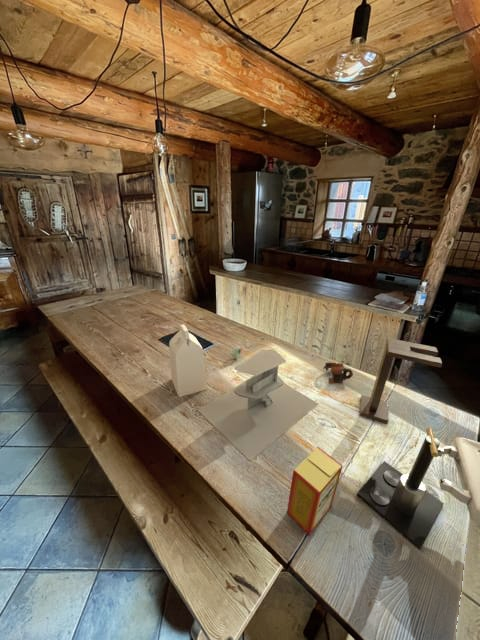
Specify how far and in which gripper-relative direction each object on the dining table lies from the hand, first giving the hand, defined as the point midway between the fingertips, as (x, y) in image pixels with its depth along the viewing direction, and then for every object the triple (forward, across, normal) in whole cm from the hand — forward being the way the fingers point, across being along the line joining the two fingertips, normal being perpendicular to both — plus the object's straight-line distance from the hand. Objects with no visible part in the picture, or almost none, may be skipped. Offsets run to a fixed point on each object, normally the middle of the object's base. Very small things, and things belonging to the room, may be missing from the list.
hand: (436, 465), depth 61 cm
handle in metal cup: (+3, -2, -14) cm, 15 cm away
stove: (+4, 0, -16) cm, 16 cm away
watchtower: (+49, +14, -16) cm, 53 cm away
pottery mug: (+25, +45, -16) cm, 54 cm away
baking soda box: (+24, -13, -16) cm, 32 cm away
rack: (+6, +32, -16) cm, 36 cm away
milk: (+79, +14, -16) cm, 82 cm away
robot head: (+70, +39, -16) cm, 82 cm away
